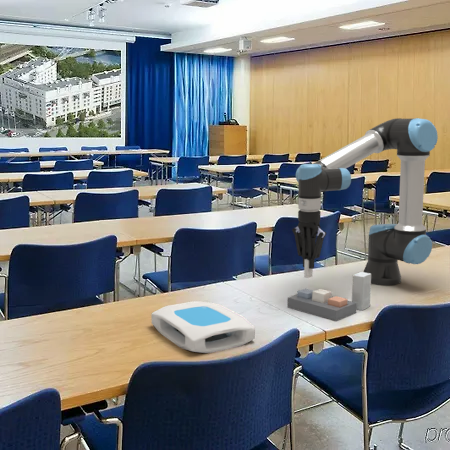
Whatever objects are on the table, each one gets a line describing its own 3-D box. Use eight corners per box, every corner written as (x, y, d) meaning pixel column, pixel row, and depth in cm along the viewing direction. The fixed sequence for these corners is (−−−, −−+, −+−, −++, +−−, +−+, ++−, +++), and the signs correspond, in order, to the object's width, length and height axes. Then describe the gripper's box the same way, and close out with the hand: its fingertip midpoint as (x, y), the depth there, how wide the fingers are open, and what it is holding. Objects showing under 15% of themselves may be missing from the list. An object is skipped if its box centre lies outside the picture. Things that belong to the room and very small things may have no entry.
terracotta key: (335, 307, 204) (335, 296, 203) (347, 310, 201) (347, 299, 200) (327, 310, 201) (328, 298, 200) (339, 313, 197) (339, 301, 197)
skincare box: (358, 304, 212) (360, 271, 210) (370, 306, 209) (371, 273, 207) (350, 308, 207) (352, 274, 205) (362, 310, 205) (363, 276, 203)
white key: (319, 300, 208) (320, 288, 207) (331, 302, 205) (331, 291, 204) (312, 302, 205) (312, 291, 204) (323, 305, 202) (323, 294, 201)
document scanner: (193, 357, 165) (193, 336, 163) (150, 327, 188) (150, 308, 187) (256, 343, 175) (256, 322, 174) (208, 316, 199) (208, 298, 198)
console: (308, 299, 216) (308, 290, 216) (356, 312, 203) (356, 302, 202) (287, 307, 208) (287, 297, 207) (336, 321, 194) (336, 310, 194)
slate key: (304, 299, 213) (305, 288, 212) (315, 302, 209) (316, 291, 209) (297, 302, 209) (297, 291, 209) (307, 305, 206) (308, 293, 205)
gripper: (287, 209, 205) (286, 275, 210) (318, 213, 196) (317, 282, 201) (300, 206, 211) (299, 271, 215) (331, 210, 202) (330, 278, 206)
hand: (308, 276), depth 208 cm, fingers closed
